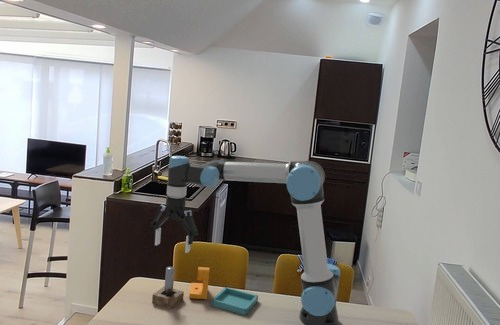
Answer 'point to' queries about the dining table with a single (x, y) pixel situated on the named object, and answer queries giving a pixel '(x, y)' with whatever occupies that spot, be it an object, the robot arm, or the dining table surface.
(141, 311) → the dining table surface
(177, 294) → the tan square sleeve
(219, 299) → the tray
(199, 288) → the bracket
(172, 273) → the pin
